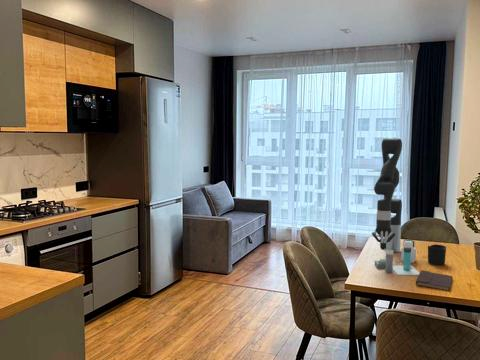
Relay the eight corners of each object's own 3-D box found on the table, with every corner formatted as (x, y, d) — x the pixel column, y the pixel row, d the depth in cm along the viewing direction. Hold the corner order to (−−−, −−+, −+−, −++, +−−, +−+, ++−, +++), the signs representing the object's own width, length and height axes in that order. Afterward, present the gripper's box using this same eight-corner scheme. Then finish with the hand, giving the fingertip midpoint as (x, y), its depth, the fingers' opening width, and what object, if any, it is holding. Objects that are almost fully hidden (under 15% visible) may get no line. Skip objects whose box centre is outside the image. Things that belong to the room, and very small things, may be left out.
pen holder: (447, 266, 237) (448, 248, 236) (429, 265, 239) (430, 247, 238) (442, 261, 246) (443, 244, 245) (425, 260, 248) (426, 244, 247)
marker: (402, 268, 230) (402, 247, 229) (409, 268, 230) (410, 247, 229) (404, 270, 227) (404, 248, 226) (411, 271, 226) (412, 248, 225)
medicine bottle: (402, 258, 253) (403, 238, 252) (415, 260, 250) (416, 239, 249) (400, 261, 247) (401, 240, 246) (413, 263, 244) (414, 242, 243)
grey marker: (384, 271, 228) (384, 249, 227) (391, 271, 228) (392, 249, 227) (386, 273, 224) (386, 251, 223) (393, 273, 224) (394, 251, 223)
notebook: (452, 279, 215) (452, 275, 214) (450, 290, 197) (450, 286, 197) (420, 273, 222) (420, 269, 222) (415, 284, 205) (415, 280, 204)
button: (379, 263, 238) (379, 258, 237) (384, 263, 237) (384, 258, 237) (380, 264, 235) (380, 259, 234) (386, 264, 234) (386, 259, 234)
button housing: (374, 264, 240) (374, 260, 240) (387, 265, 239) (387, 260, 239) (377, 268, 233) (377, 264, 233) (390, 268, 232) (390, 264, 232)
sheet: (389, 266, 237) (389, 265, 237) (411, 266, 236) (411, 265, 236) (397, 275, 221) (397, 274, 221) (421, 275, 220) (421, 274, 220)
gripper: (394, 217, 237) (393, 248, 238) (369, 217, 238) (369, 247, 239) (398, 219, 229) (397, 251, 231) (372, 219, 231) (372, 250, 232)
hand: (382, 249), depth 235 cm, fingers closed
